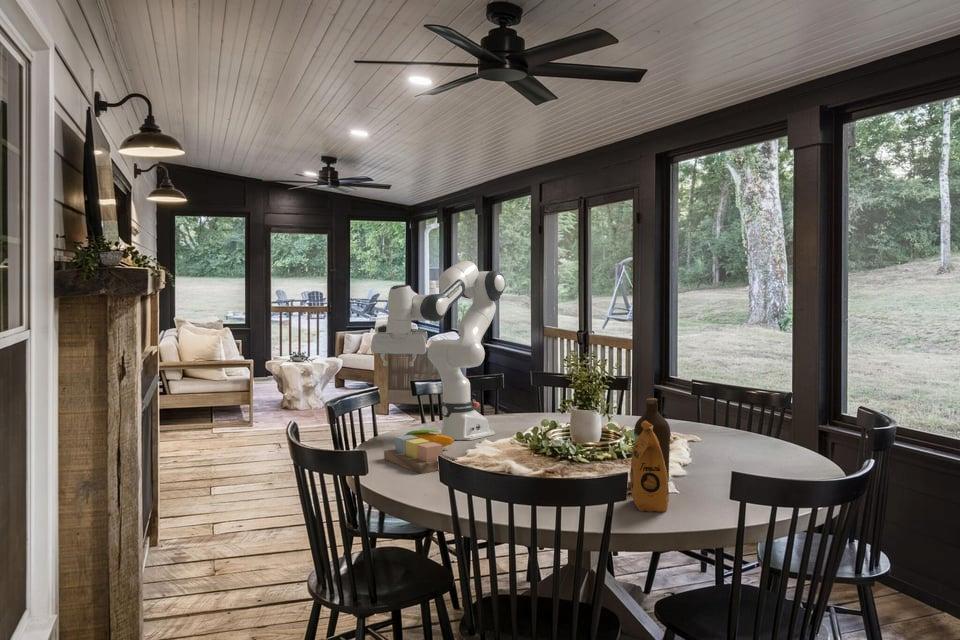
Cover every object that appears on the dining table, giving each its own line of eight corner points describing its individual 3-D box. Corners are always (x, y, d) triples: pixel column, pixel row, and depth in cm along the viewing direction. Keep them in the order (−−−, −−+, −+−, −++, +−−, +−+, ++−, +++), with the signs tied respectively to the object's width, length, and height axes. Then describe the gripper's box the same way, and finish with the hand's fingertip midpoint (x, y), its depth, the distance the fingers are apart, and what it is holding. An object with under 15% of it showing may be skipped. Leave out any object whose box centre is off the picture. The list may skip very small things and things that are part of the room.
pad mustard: (421, 452, 248) (421, 438, 247) (430, 455, 243) (430, 441, 242) (406, 455, 244) (406, 440, 244) (415, 458, 239) (414, 443, 239)
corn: (403, 427, 269) (455, 427, 266) (403, 446, 269) (456, 446, 267) (398, 432, 261) (452, 432, 259) (399, 452, 262) (453, 452, 260)
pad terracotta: (433, 456, 241) (433, 442, 241) (442, 459, 236) (442, 445, 236) (417, 459, 238) (417, 444, 237) (427, 462, 233) (426, 447, 233)
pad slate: (410, 448, 254) (410, 434, 254) (418, 451, 249) (418, 437, 249) (395, 451, 251) (395, 436, 251) (403, 454, 246) (403, 439, 246)
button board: (416, 453, 258) (416, 445, 258) (455, 467, 237) (454, 458, 236) (384, 459, 251) (383, 450, 250) (421, 473, 229) (420, 464, 229)
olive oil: (664, 475, 221) (663, 395, 219) (675, 485, 210) (675, 400, 209) (630, 477, 220) (629, 396, 219) (640, 486, 209) (639, 402, 208)
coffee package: (631, 512, 186) (630, 428, 185) (630, 498, 198) (629, 419, 197) (670, 513, 184) (669, 429, 183) (667, 499, 196) (666, 420, 195)
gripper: (427, 329, 265) (427, 366, 265) (372, 328, 264) (371, 365, 264) (427, 329, 259) (426, 367, 259) (370, 327, 258) (369, 366, 258)
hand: (398, 366), depth 261 cm, fingers open, 8 cm apart
